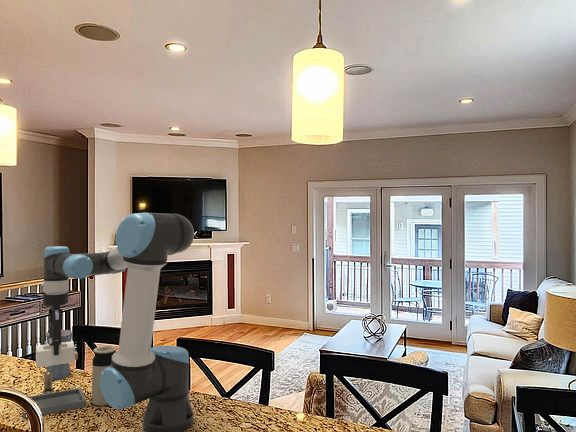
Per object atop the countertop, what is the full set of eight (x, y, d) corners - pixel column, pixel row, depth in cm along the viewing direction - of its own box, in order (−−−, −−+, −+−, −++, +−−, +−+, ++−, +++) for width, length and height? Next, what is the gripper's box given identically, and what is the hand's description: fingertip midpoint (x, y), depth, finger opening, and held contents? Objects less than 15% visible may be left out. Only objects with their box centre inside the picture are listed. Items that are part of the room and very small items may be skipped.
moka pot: (57, 383, 168) (58, 330, 168) (33, 376, 175) (34, 325, 176) (80, 376, 176) (80, 325, 176) (56, 369, 184) (57, 320, 184)
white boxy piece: (75, 355, 156) (76, 340, 156) (78, 361, 149) (78, 346, 149) (35, 360, 149) (36, 345, 149) (36, 367, 143) (37, 352, 143)
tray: (86, 406, 148) (86, 400, 148) (22, 418, 138) (23, 412, 138) (81, 393, 159) (81, 387, 159) (22, 403, 149) (22, 397, 149)
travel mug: (86, 405, 149) (87, 351, 149) (100, 396, 157) (101, 344, 157) (109, 407, 148) (110, 352, 148) (121, 397, 156) (122, 346, 156)
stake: (53, 392, 159) (53, 372, 160) (43, 394, 158) (43, 374, 158) (52, 389, 162) (52, 370, 162) (42, 391, 161) (42, 371, 161)
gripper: (41, 288, 156) (40, 354, 156) (44, 298, 138) (43, 372, 138) (65, 287, 160) (64, 351, 160) (71, 296, 142) (70, 368, 142)
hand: (54, 360), depth 149 cm, fingers closed on white boxy piece, 8 cm apart
